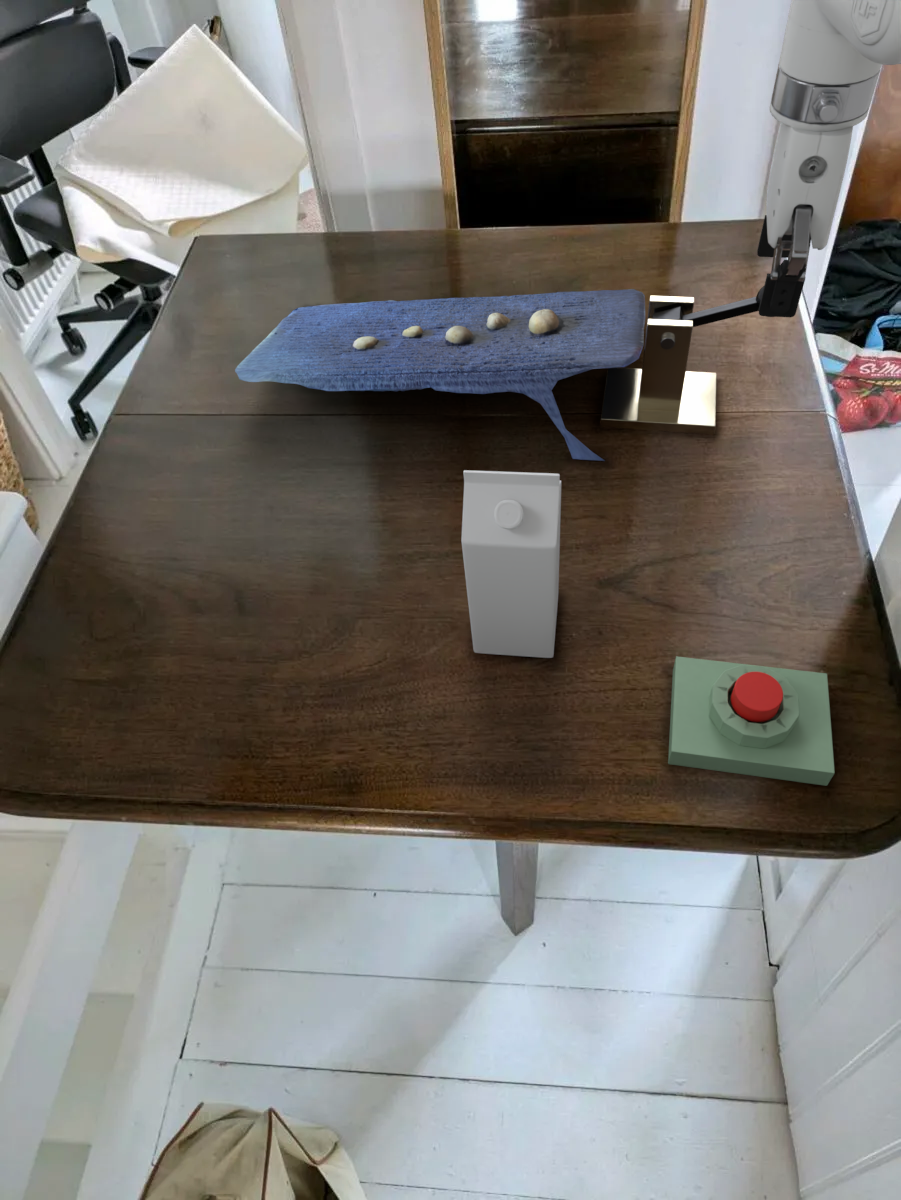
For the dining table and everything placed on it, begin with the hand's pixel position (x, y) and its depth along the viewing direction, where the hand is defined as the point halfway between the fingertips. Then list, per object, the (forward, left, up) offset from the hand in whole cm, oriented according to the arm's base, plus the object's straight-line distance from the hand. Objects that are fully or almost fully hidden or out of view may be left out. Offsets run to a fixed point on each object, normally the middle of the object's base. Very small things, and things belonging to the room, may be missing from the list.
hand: (774, 284), depth 81 cm
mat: (+34, -3, -15) cm, 37 cm away
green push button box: (0, +40, -15) cm, 42 cm away
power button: (0, +40, -11) cm, 41 cm away
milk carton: (+20, +32, -15) cm, 41 cm away
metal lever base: (+9, 0, -15) cm, 18 cm away
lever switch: (+4, 0, -5) cm, 6 cm away
